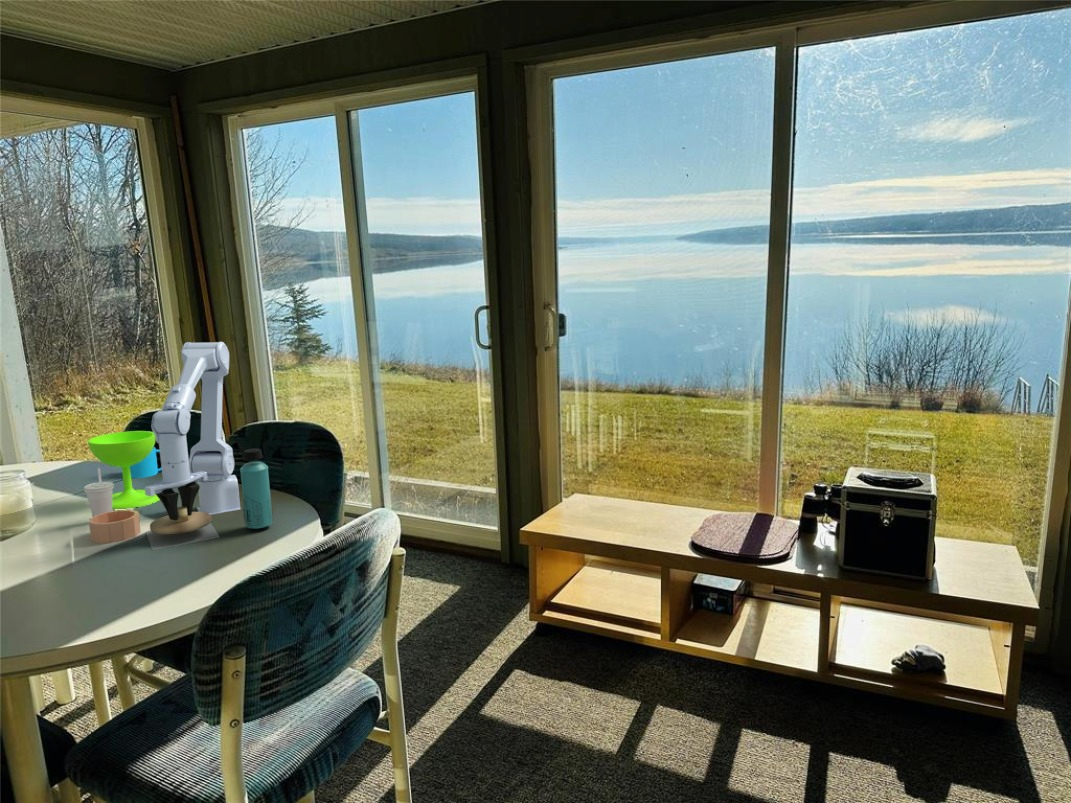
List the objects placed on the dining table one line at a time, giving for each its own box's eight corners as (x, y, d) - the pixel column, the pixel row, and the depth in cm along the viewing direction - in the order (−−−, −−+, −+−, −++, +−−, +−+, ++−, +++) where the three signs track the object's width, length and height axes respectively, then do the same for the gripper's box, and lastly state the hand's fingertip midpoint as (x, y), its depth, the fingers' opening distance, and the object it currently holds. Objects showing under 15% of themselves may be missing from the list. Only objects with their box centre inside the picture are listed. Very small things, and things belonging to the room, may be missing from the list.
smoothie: (104, 527, 174) (97, 472, 172) (81, 525, 175) (74, 471, 173) (124, 518, 180) (117, 465, 178) (102, 517, 181) (96, 464, 179)
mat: (209, 522, 177) (209, 520, 177) (220, 539, 165) (219, 537, 165) (145, 534, 169) (145, 532, 169) (152, 552, 158) (152, 550, 157)
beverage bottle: (279, 526, 173) (273, 447, 169) (261, 536, 167) (254, 453, 163) (257, 524, 175) (251, 445, 172) (238, 533, 169) (231, 451, 165)
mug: (128, 479, 216) (125, 453, 215) (128, 473, 223) (125, 448, 222) (172, 473, 222) (169, 448, 221) (170, 468, 229) (168, 443, 228)
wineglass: (175, 493, 201) (168, 431, 198) (134, 511, 186) (126, 445, 182) (125, 491, 204) (118, 430, 201) (81, 509, 188) (72, 443, 185)
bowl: (138, 526, 174) (136, 507, 173) (142, 538, 166) (140, 518, 165) (90, 535, 169) (88, 515, 168) (92, 548, 161) (89, 527, 160)
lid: (206, 511, 175) (205, 496, 175) (216, 526, 165) (214, 510, 164) (147, 521, 168) (145, 506, 168) (153, 538, 158) (151, 521, 157)
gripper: (191, 452, 172) (196, 505, 174) (134, 466, 159) (140, 524, 162) (210, 455, 169) (216, 509, 171) (153, 470, 156) (160, 528, 159)
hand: (180, 517), depth 166 cm, fingers closed on lid, 3 cm apart
